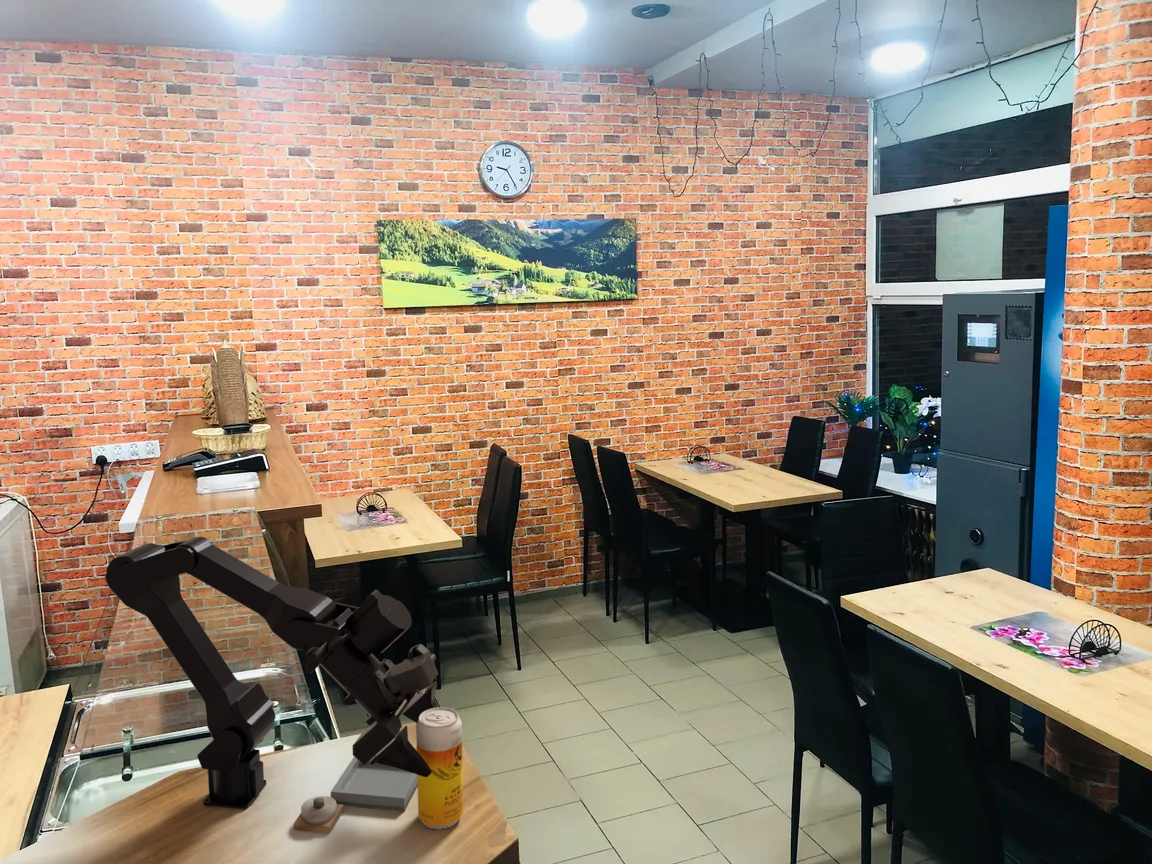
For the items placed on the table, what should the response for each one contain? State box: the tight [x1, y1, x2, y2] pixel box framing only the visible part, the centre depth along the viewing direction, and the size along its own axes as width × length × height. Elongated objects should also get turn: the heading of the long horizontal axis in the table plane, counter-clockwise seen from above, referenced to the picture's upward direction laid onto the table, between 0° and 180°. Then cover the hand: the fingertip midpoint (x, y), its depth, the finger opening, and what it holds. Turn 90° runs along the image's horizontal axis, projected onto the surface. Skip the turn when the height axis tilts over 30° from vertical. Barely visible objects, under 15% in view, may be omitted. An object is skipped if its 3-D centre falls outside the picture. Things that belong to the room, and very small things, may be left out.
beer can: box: [415, 706, 464, 830], centre depth 120 cm, size 6×6×15 cm
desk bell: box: [293, 795, 345, 834], centre depth 120 cm, size 5×5×3 cm
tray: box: [330, 756, 418, 812], centre depth 128 cm, size 11×11×2 cm
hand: (439, 756), depth 120 cm, fingers open, 9 cm apart
